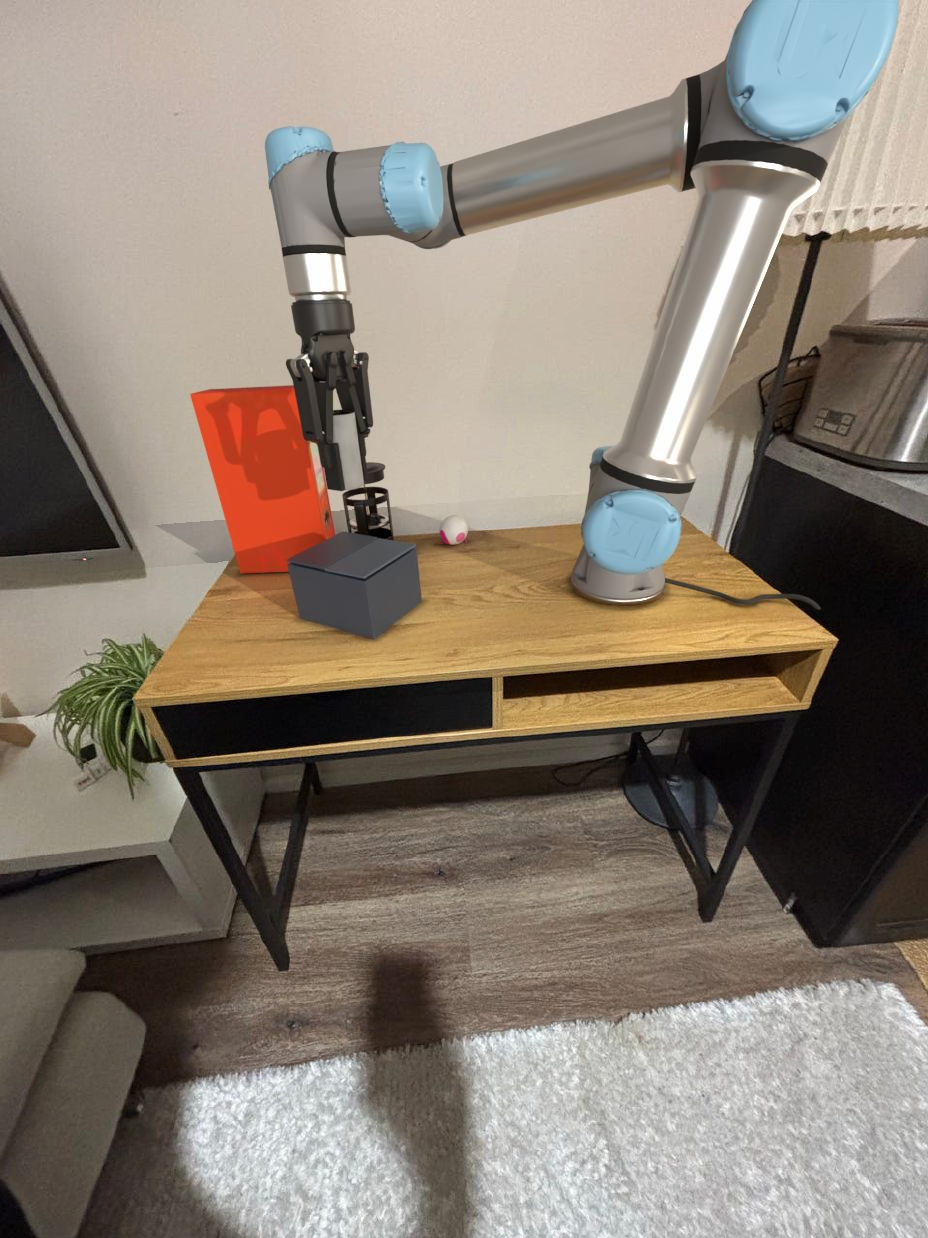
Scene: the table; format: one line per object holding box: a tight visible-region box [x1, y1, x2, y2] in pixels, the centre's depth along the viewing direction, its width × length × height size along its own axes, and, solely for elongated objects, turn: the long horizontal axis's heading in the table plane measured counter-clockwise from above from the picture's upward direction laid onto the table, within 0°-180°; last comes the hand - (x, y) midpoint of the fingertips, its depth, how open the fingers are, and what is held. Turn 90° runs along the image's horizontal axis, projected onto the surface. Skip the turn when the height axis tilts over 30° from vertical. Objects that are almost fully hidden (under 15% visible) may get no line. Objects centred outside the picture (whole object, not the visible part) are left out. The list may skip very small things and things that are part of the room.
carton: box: [287, 531, 423, 640], centre depth 82 cm, size 15×13×10 cm
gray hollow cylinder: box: [333, 409, 364, 491], centre depth 73 cm, size 4×4×10 cm
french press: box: [341, 434, 395, 541], centre depth 100 cm, size 12×9×23 cm
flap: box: [324, 538, 417, 579], centre depth 78 cm, size 7×13×1 cm, turn 151°
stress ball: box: [437, 514, 469, 546], centre depth 107 cm, size 8×8×7 cm
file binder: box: [190, 384, 336, 574], centre depth 94 cm, size 8×17×32 cm, turn 90°
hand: (348, 484), depth 76 cm, fingers closed on gray hollow cylinder, 5 cm apart
